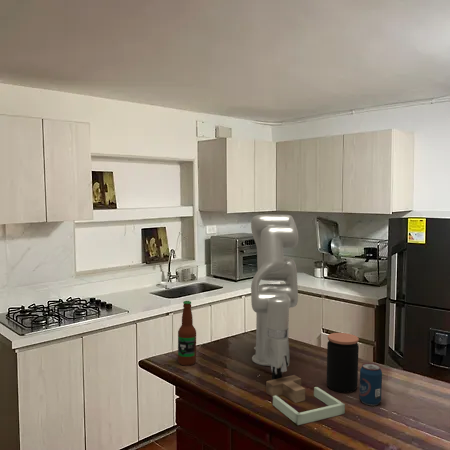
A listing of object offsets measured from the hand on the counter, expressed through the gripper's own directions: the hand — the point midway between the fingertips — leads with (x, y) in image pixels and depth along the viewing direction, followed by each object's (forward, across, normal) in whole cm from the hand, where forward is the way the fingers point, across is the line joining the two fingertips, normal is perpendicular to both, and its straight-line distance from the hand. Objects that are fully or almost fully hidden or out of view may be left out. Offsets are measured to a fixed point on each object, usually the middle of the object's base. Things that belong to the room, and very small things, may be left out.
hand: (276, 383), depth 161 cm
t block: (+1, +8, +1) cm, 8 cm away
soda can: (+1, +22, +22) cm, 31 cm away
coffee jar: (+1, +9, +21) cm, 23 cm away
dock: (+1, +18, 0) cm, 18 cm away
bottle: (+1, -34, -21) cm, 40 cm away
